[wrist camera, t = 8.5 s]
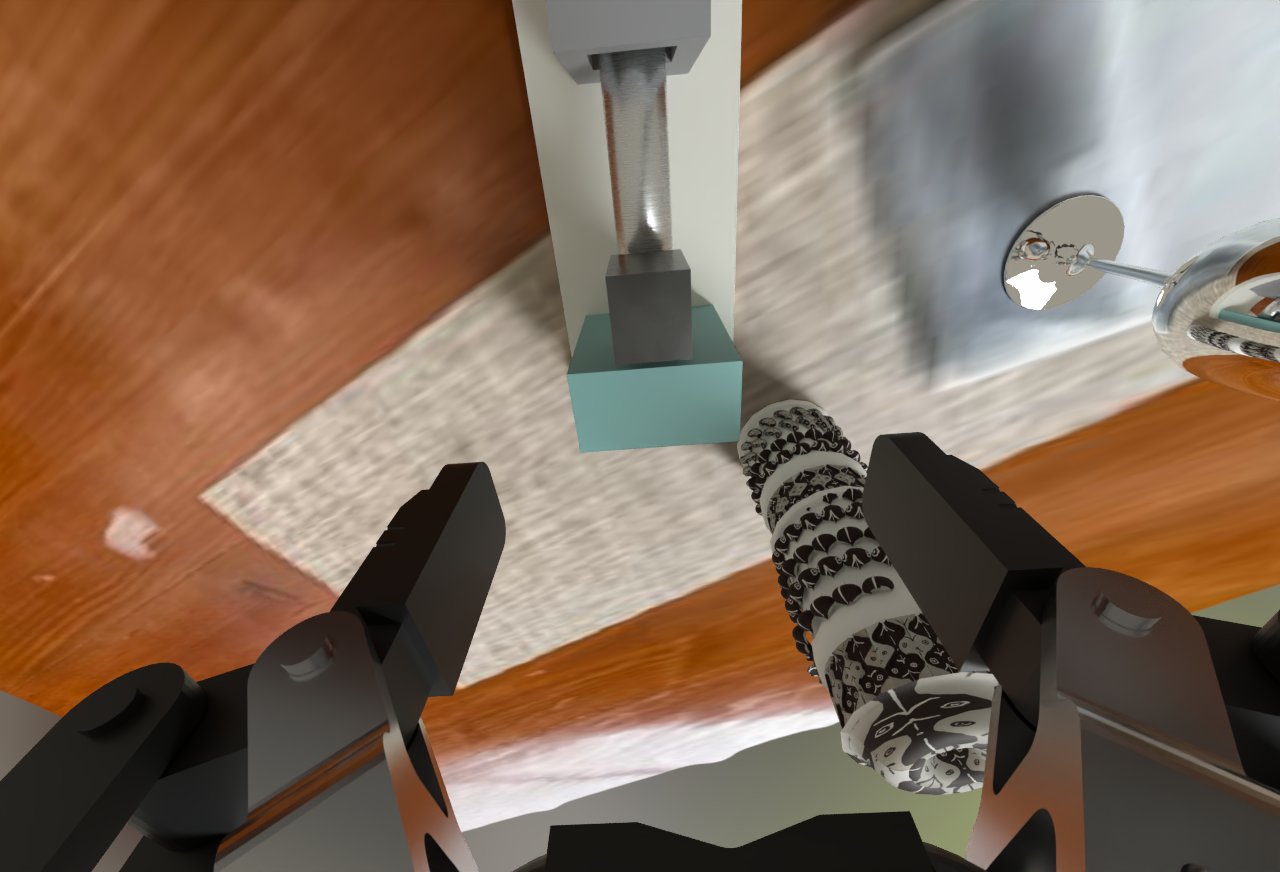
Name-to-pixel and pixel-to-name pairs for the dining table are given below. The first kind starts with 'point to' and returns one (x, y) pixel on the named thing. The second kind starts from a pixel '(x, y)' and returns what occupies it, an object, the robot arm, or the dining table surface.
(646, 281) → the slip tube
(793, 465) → the decorative candle
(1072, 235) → the wineglass
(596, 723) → the dining table surface
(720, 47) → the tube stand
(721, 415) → the socket
